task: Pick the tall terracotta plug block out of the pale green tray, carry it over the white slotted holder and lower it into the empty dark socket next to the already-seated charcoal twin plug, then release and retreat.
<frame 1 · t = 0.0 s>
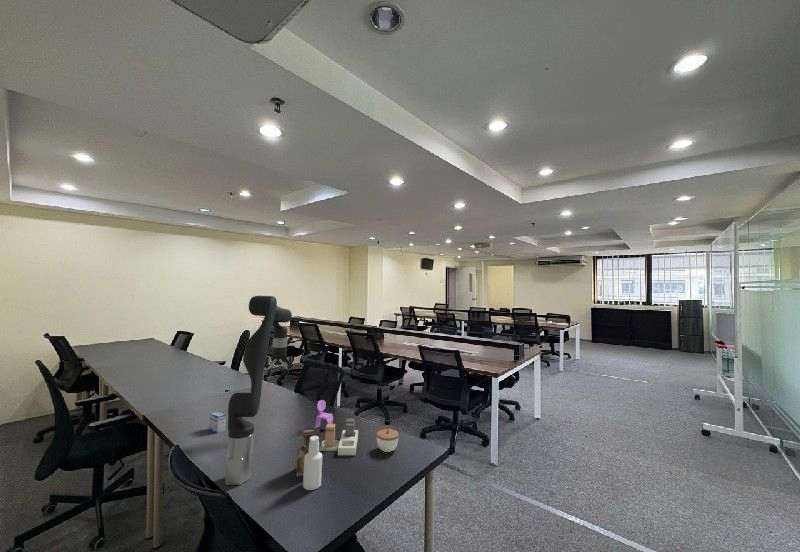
hand: (278, 376, 173), 29 cm above the table, tool pointing down, fingers open, 8 cm apart
lidded jar: (387, 450, 154), on the table
plug: (329, 446, 154), resting on tray
white slotted holder: (348, 446, 156), on the table
toy chair: (323, 428, 177), on the table
tray: (329, 447, 154), on the table
coffee box: (307, 471, 133), on the table
white bottle: (312, 485, 123), on the table
medicine box: (216, 430, 170), on the table
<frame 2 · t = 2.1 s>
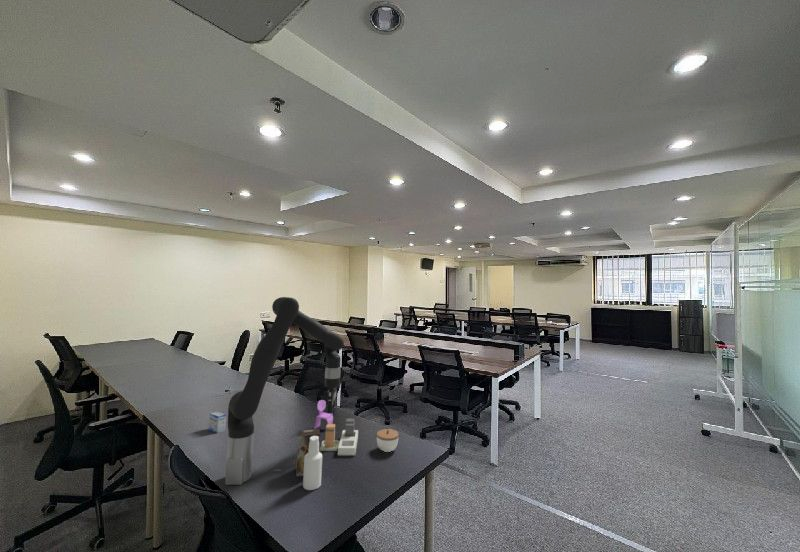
hand: (331, 409, 155), 18 cm above the table, tool pointing down, fingers open, 8 cm apart
nothing on the table moved.
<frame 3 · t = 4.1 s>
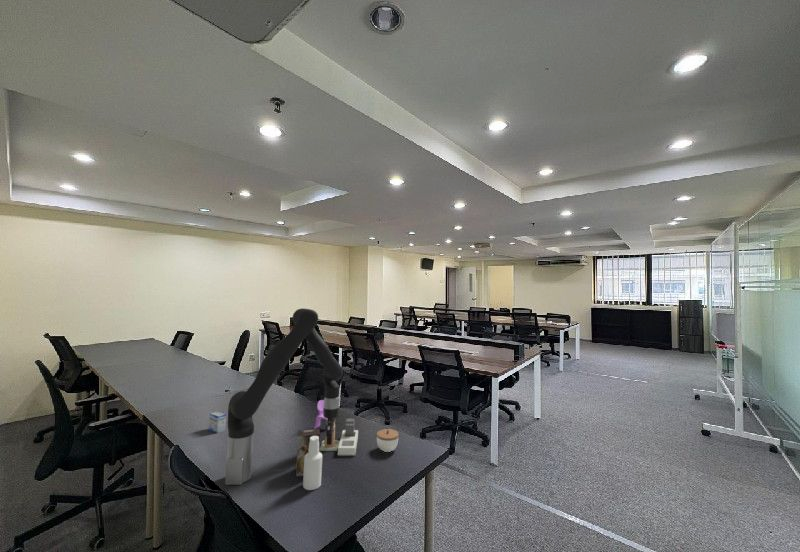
hand: (329, 441, 154), 3 cm above the table, tool pointing down, fingers closed on plug, 4 cm apart
plug: (329, 446, 154), resting on tray, touching gripper
everything else where it was.
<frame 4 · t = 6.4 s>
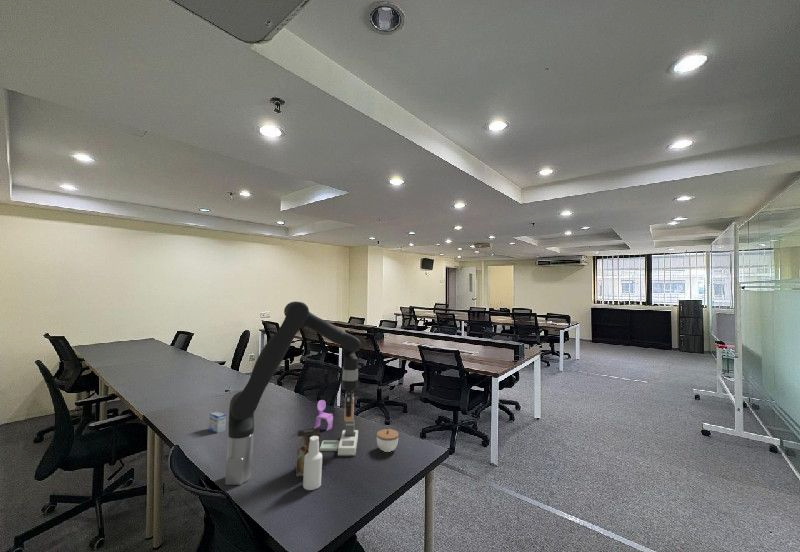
hand: (348, 414, 152), 17 cm above the table, tool pointing down, fingers closed on plug, 4 cm apart
plug: (348, 419, 152), point 15 cm above the table, touching gripper
everything else where it was.
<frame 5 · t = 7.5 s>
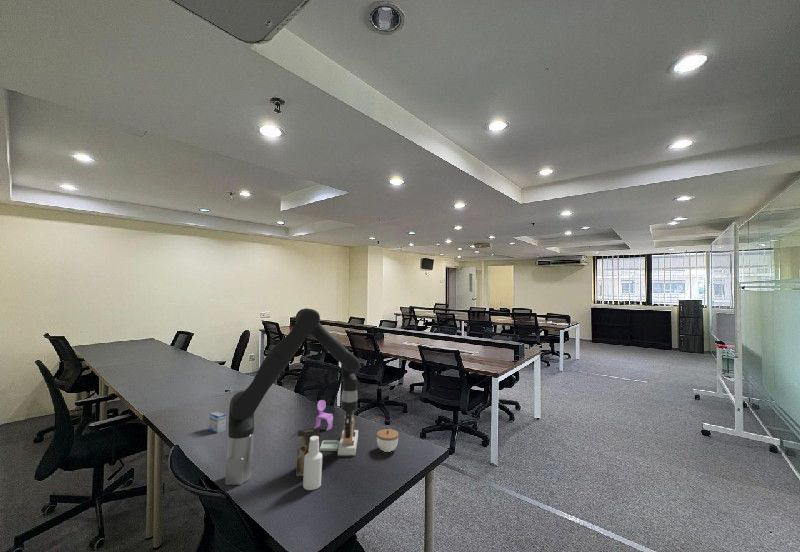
hand: (348, 435, 151), 7 cm above the table, tool pointing down, fingers closed on plug, 4 cm apart
plug: (348, 440, 151), point 5 cm above the table, touching gripper
everything else where it was.
when the fingers open (5 cm above the table, at t = 8.5 s): plug drops 1 cm, resting on white slotted holder.
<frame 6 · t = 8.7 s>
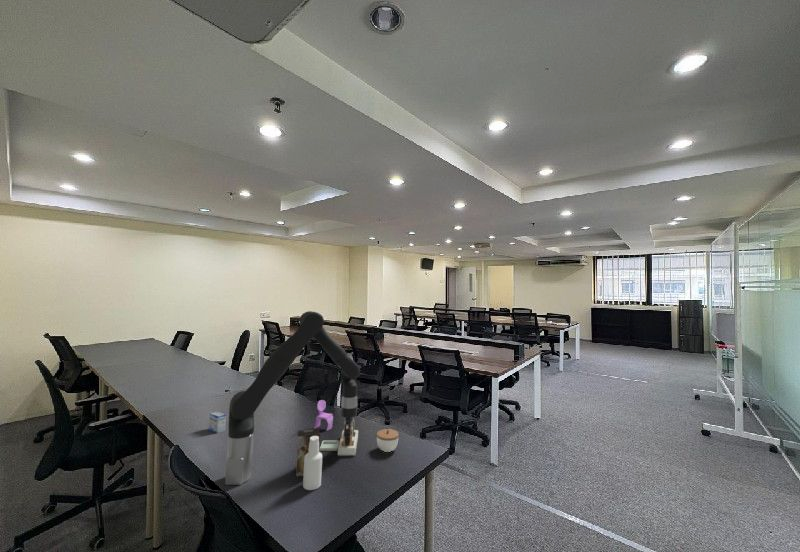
hand: (347, 441, 151), 5 cm above the table, tool pointing down, fingers open, 5 cm apart
plug: (347, 449, 151), point 1 cm above the table, touching white slotted holder
everything else where it was.
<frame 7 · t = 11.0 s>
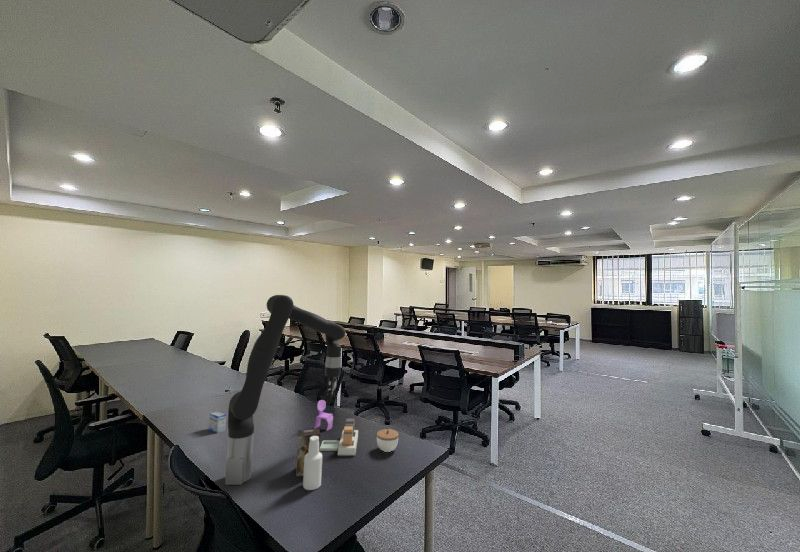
hand: (330, 399, 154), 23 cm above the table, tool pointing down, fingers open, 8 cm apart
nothing on the table moved.
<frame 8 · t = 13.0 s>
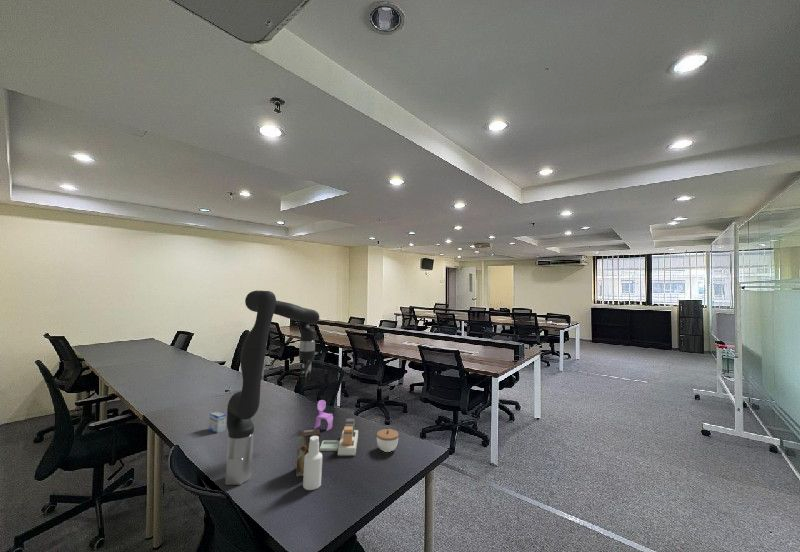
hand: (305, 382, 159), 30 cm above the table, tool pointing down, fingers open, 8 cm apart
nothing on the table moved.
at the end: plug 0.0 cm from the target spot on the white slotted holder, point 1.0 cm above the white slotted holder's base; plug tilted 0°; the gripper is holding nothing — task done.
